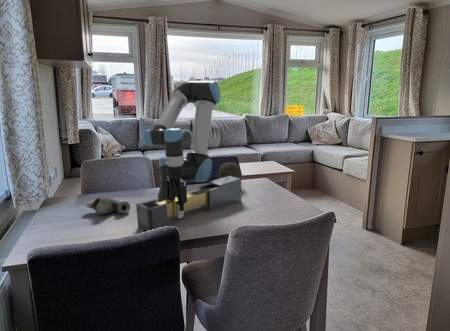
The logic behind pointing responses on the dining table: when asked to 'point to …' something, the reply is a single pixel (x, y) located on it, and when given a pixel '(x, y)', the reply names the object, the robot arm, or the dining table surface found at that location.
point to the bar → (193, 202)
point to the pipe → (108, 205)
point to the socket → (151, 215)
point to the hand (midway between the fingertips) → (177, 215)
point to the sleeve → (222, 192)
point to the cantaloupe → (229, 170)
